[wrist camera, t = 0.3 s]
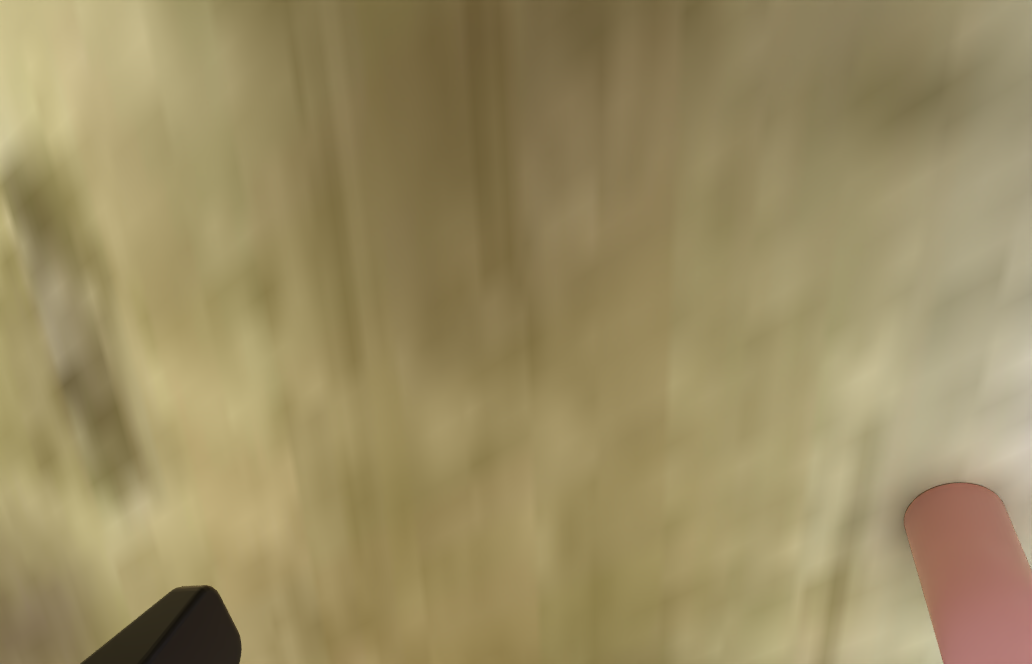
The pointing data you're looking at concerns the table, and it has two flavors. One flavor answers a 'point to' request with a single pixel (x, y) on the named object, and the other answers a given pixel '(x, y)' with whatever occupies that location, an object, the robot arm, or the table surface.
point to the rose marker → (972, 575)
